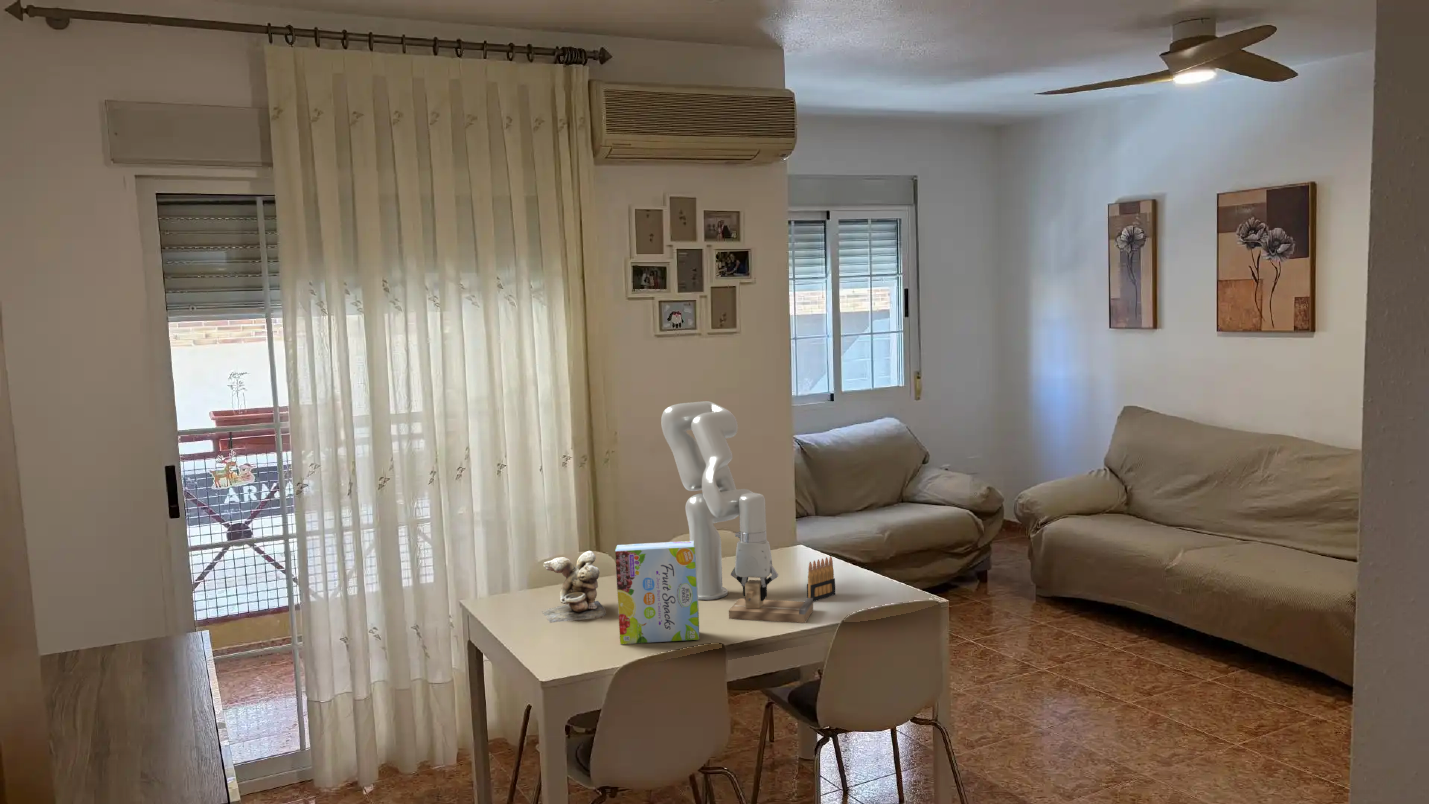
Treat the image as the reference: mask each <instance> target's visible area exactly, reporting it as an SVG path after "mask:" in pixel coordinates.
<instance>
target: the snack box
mask: <svg viewBox="0 0 1429 804" xmlns="http://www.w3.org/2000/svg"><path fill="white" fill-rule="evenodd" d="M614 555H615V575H616V576H615V577H616V591H617V593H616V594H617V595H616V596H617V612H618V614H617V615H618V628H619V630H618V631H619V644H620V645H629V644H630V645H632V644H646V643H647V644H648V643H649V644H650V643H661V642H678V641H682V642H683V641H695V640H696V641H697V640H700V613H699V611H700V610H699V609H700V608H699V600H698V585H697V568H696V554H695V543H694V541H690V540H685V541H684V540H683V541H666V542H664V541H663V542H646V543H644V542H643V543H629V544H617V545H616V547H615V551H614Z"/></svg>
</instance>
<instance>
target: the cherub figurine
mask: <svg viewBox="0 0 1429 804" xmlns="http://www.w3.org/2000/svg"><path fill="white" fill-rule="evenodd" d="M596 558H597V556H596V555H595V553H594V552H593V551H592V550H588V551H585V552H583V553H582V554H581V555H579V556H578V559H577V560H576V565H575V566H574V564H573V562H572V561H571V560H570V559H569V558H567V557H564V556H560V557H555V558H553V559H552V560H547V561H545V562H543V564H542V565H543V567H544V568H546V569H545V570H546V571H550V572H554V573H557V574H561V575H562V576H563V577H564V578H565V580H564V582H563V584H562V587H561V589H560V591H559V601H560V603H561V604H563V605H560V606H556V607H551V608H547V609H545V610H542V611H541V613H542V614H543V616H544V617H545V618H546V620H547V621H548V623H550V624H551V623H558V622H559V623H560V622H569V621H579V620H590V619H591V620H592V619H597V618H598V619H602V618H603V617H605V616H607V612H606V609H605V607H604V606H603V605H602V604H601V602H600V601H599V600H596V598H597V596H598V592H597V589H599V584H598V583H599V582H598V579H599V577H600V569H599V568H598V567H597V566H595V565H594V562H596V561H595V560H597V559H596Z"/></svg>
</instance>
